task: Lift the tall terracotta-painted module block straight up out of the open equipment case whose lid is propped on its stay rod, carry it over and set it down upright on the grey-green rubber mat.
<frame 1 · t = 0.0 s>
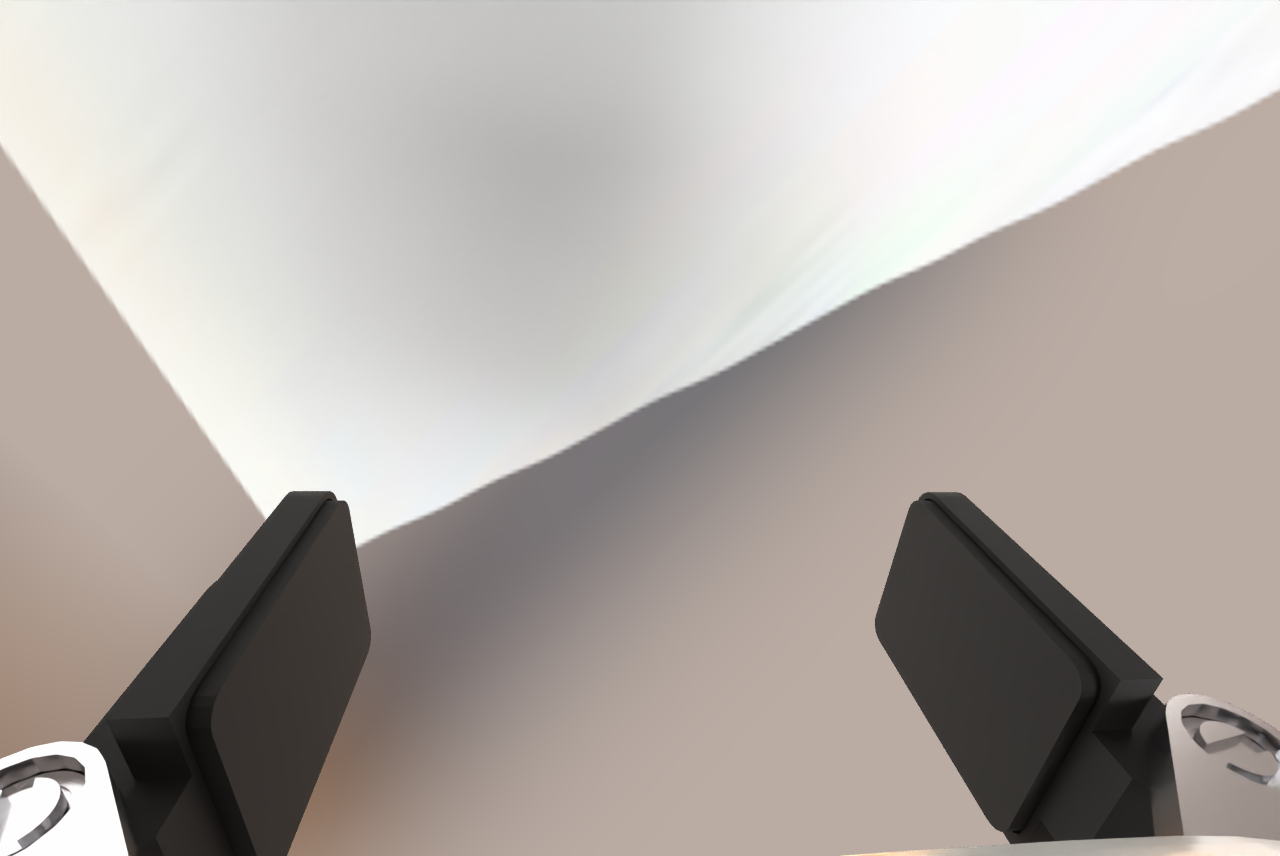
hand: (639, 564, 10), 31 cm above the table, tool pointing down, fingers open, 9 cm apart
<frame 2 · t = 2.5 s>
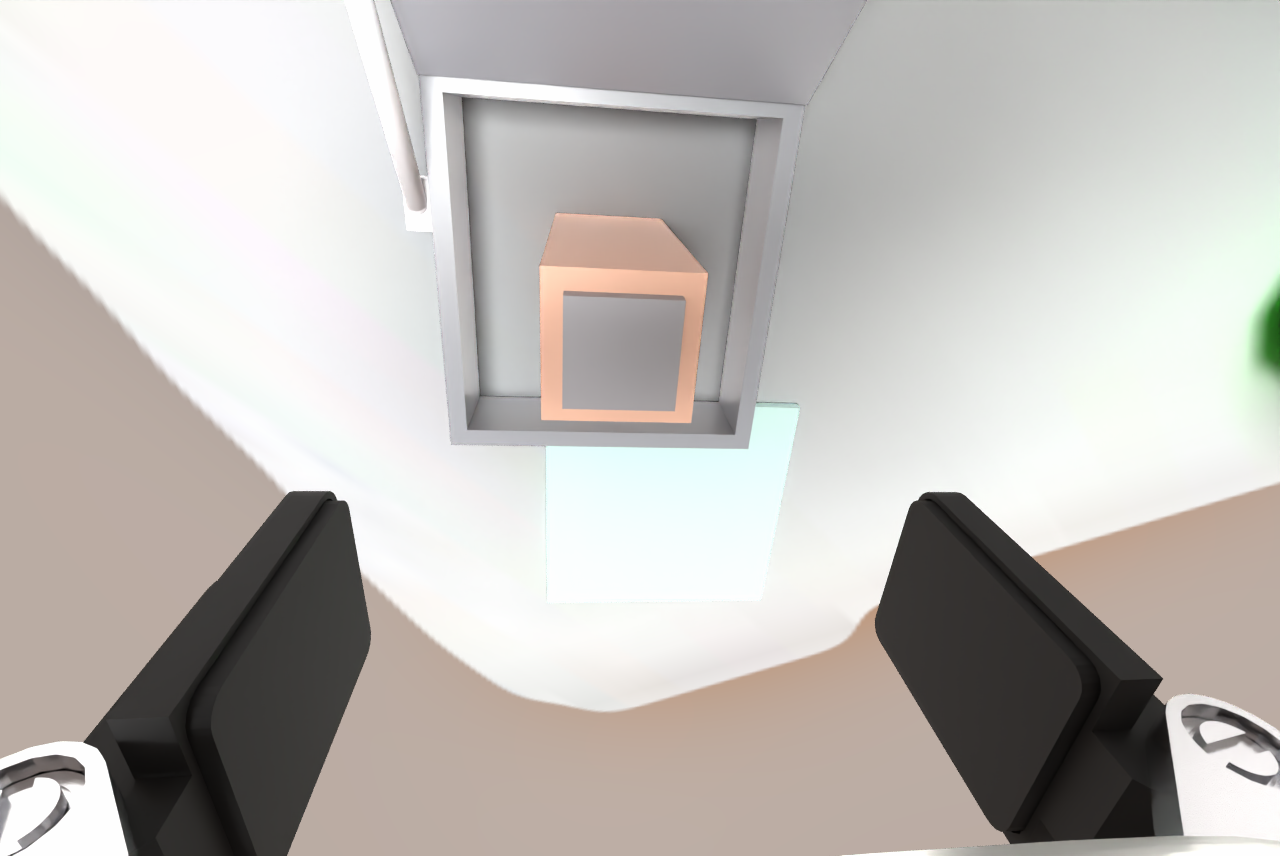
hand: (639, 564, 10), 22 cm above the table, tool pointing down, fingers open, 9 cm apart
mat: (663, 506, 36), on the table
case: (606, 269, 29), on the table
module: (606, 269, 29), resting in case
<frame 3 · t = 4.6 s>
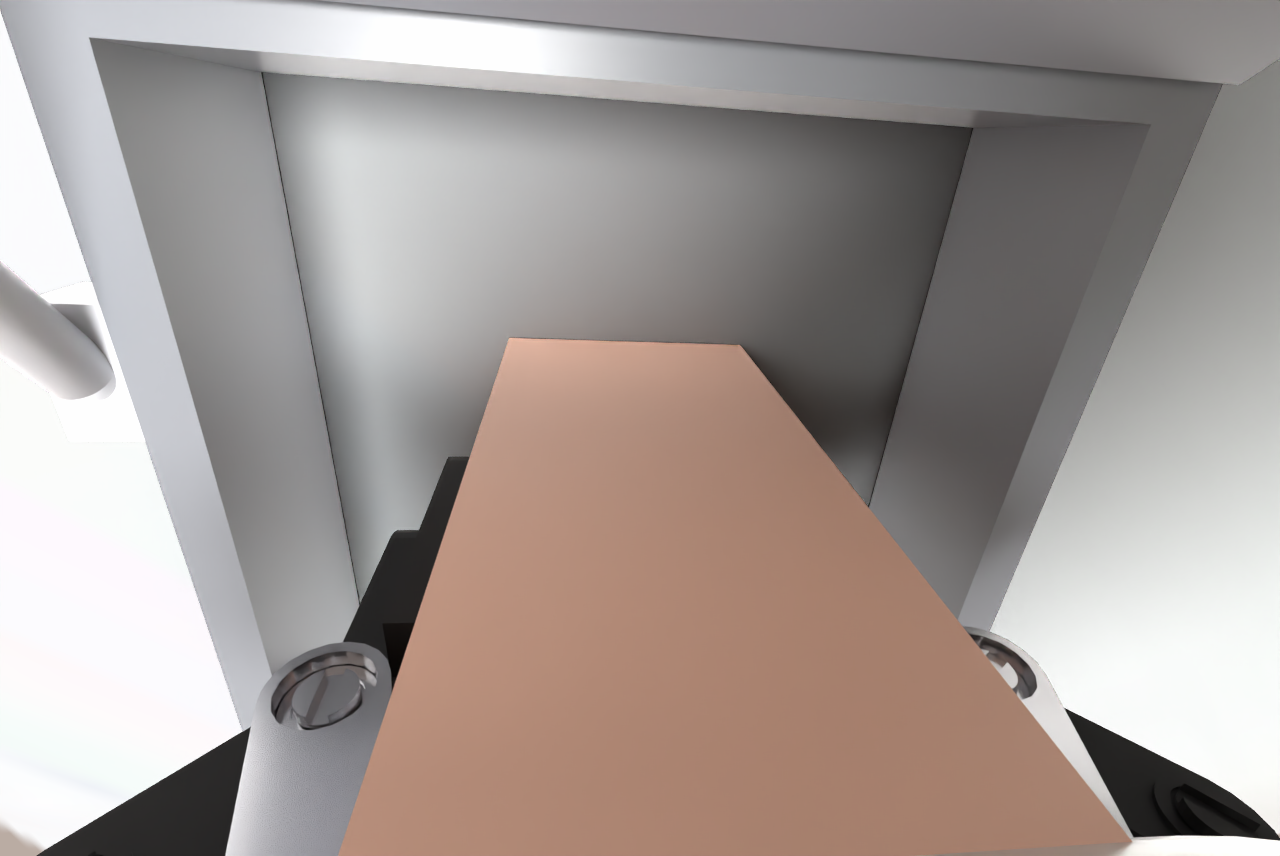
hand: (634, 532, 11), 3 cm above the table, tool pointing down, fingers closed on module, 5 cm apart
case: (622, 442, 14), on the table
module: (621, 444, 14), resting in case, touching gripper
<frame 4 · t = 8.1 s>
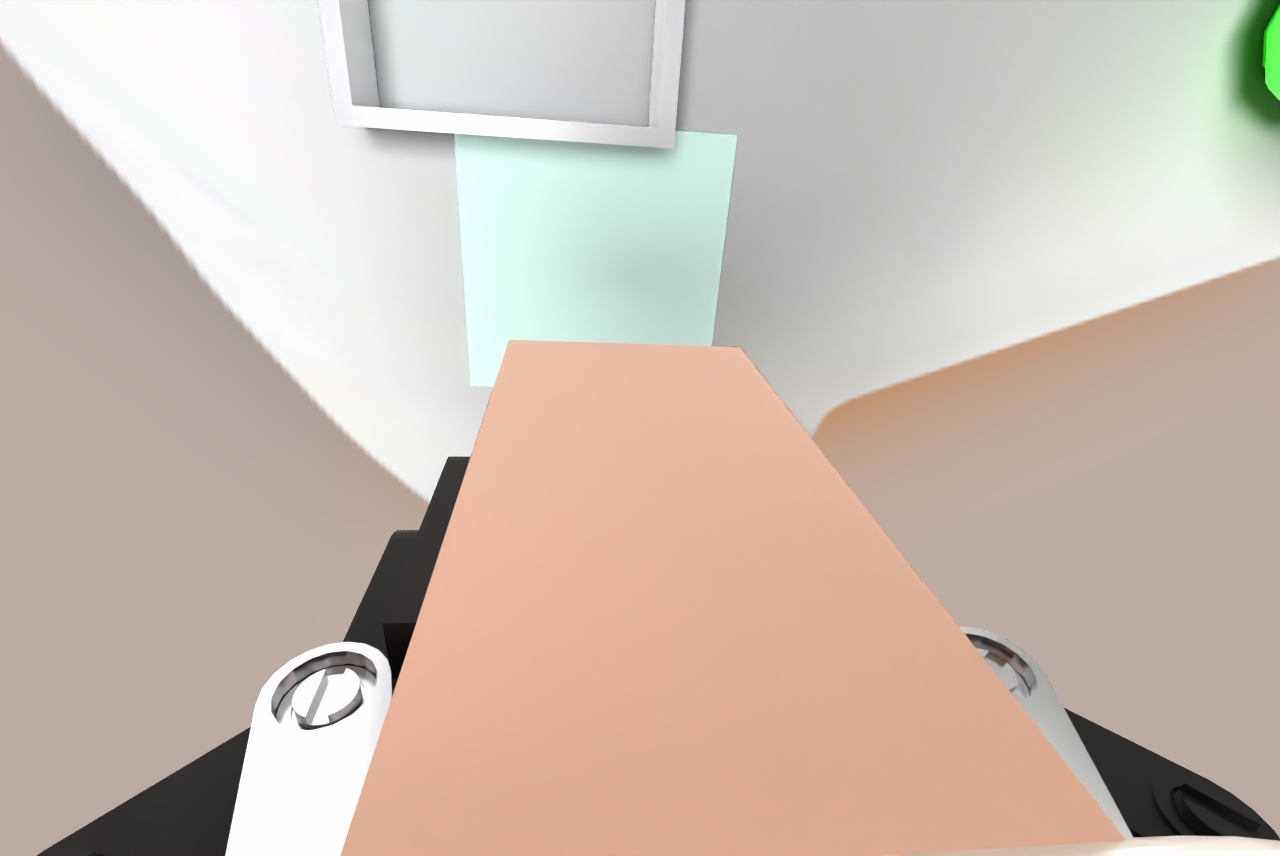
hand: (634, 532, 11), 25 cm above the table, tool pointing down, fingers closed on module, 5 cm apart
mat: (594, 267, 33), on the table
module: (621, 446, 14), point 21 cm above the table, touching gripper
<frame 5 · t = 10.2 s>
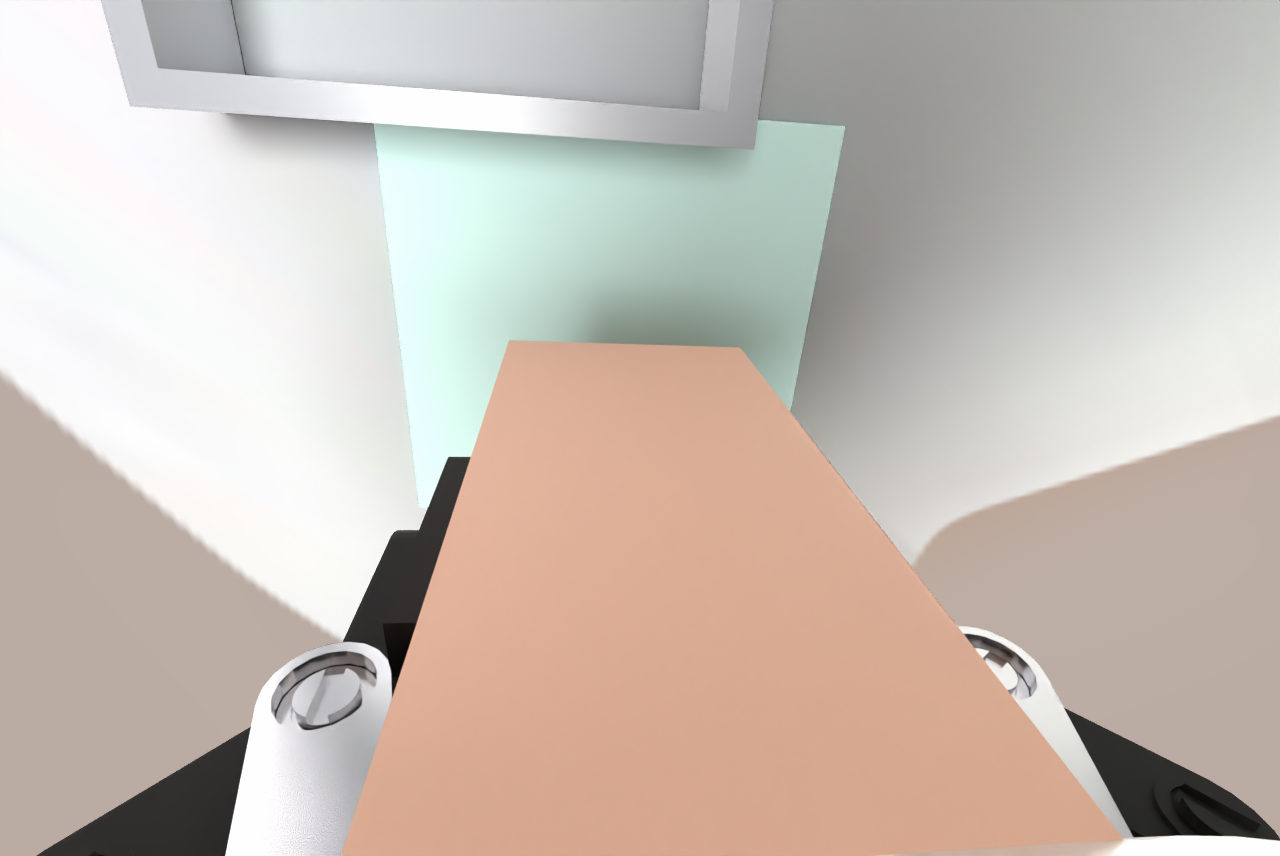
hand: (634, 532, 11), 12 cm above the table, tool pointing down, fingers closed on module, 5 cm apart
mat: (607, 332, 21), on the table
module: (621, 446, 14), point 8 cm above the table, touching gripper
when the fingers open (6 cm above the table, at t = 11.8 s): module drops 2 cm, resting on mat.
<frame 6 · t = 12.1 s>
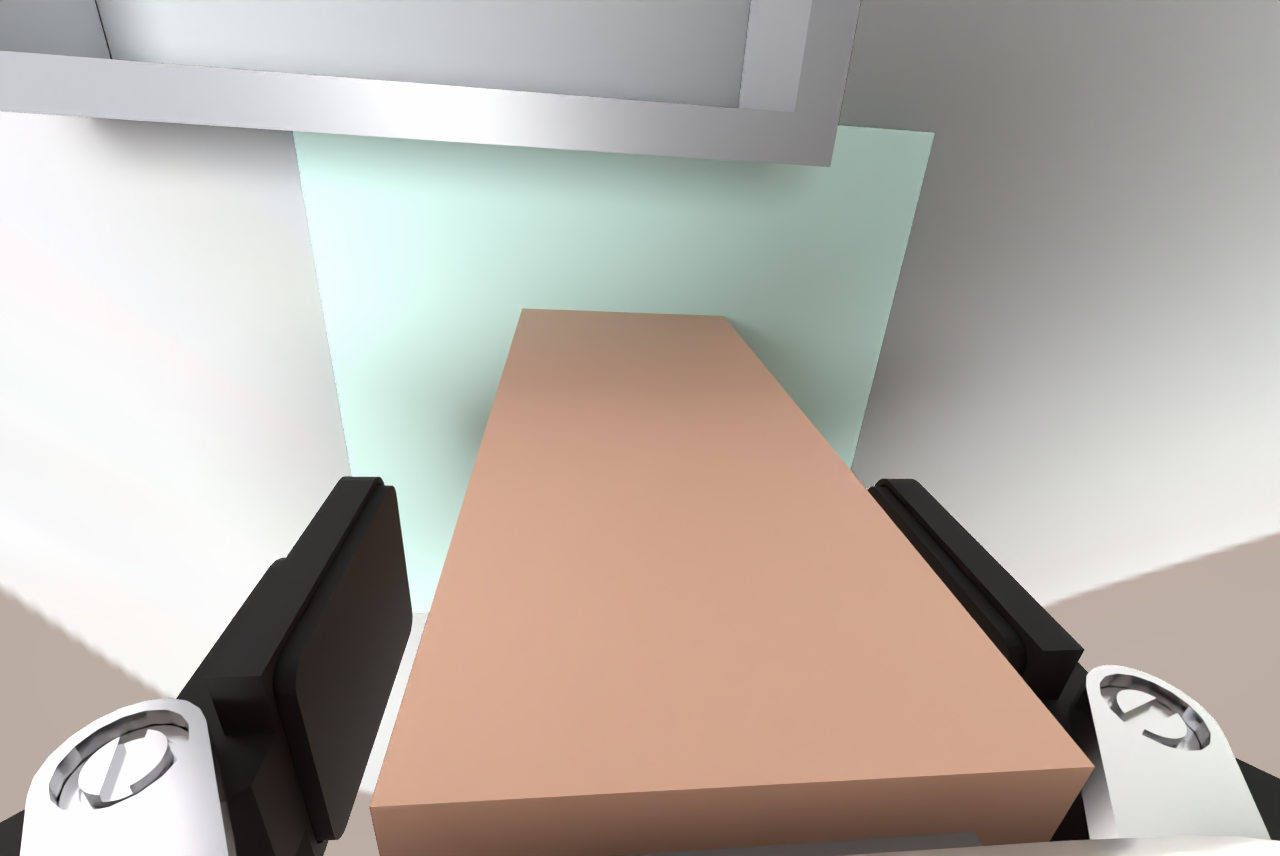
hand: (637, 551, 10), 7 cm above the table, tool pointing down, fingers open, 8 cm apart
mat: (614, 398, 16), on the table
module: (619, 404, 16), point 1 cm above the table, touching mat
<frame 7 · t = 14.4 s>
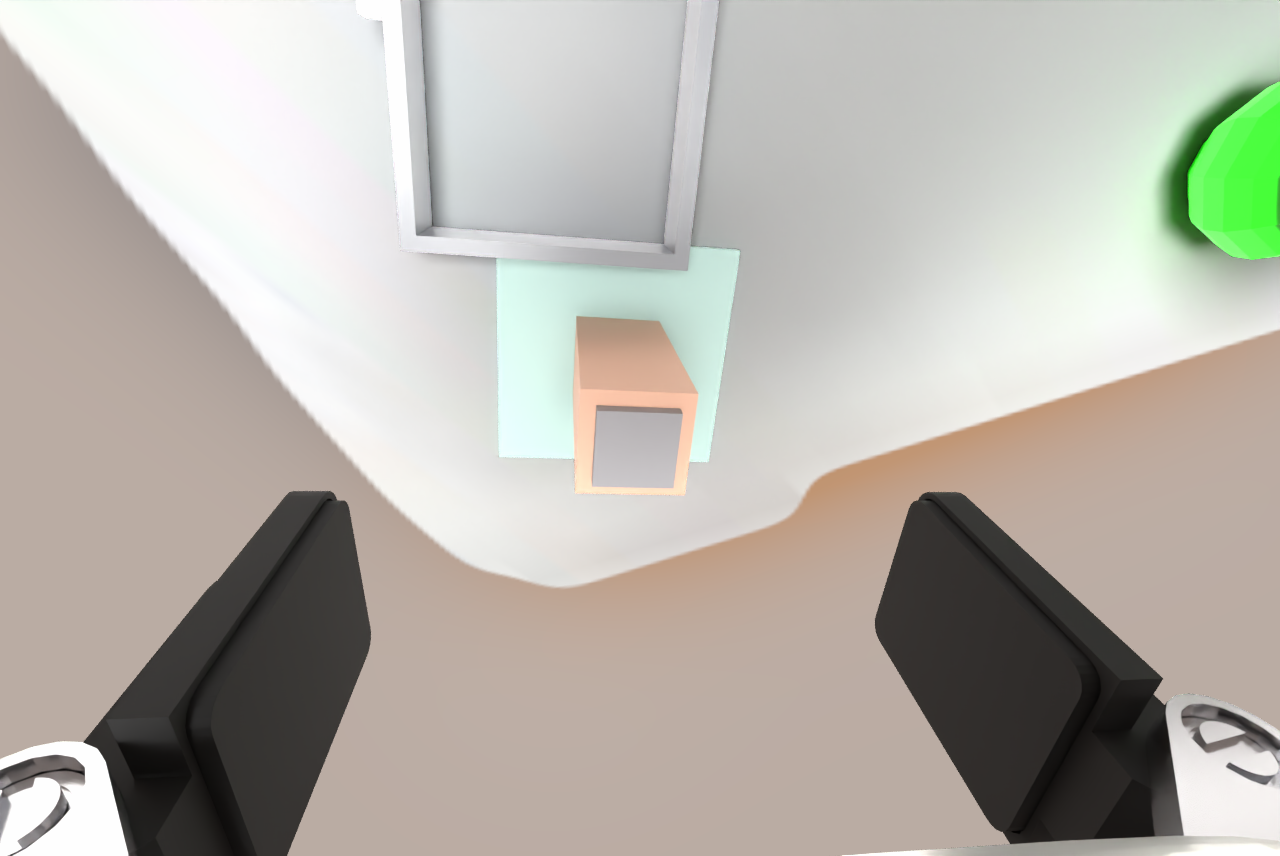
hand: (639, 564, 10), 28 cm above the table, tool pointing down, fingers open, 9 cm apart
mat: (612, 356, 37), on the table
case: (554, 95, 31), on the table
plastic bottle: (1224, 167, 37), on the table
module: (615, 358, 37), point 1 cm above the table, touching mat
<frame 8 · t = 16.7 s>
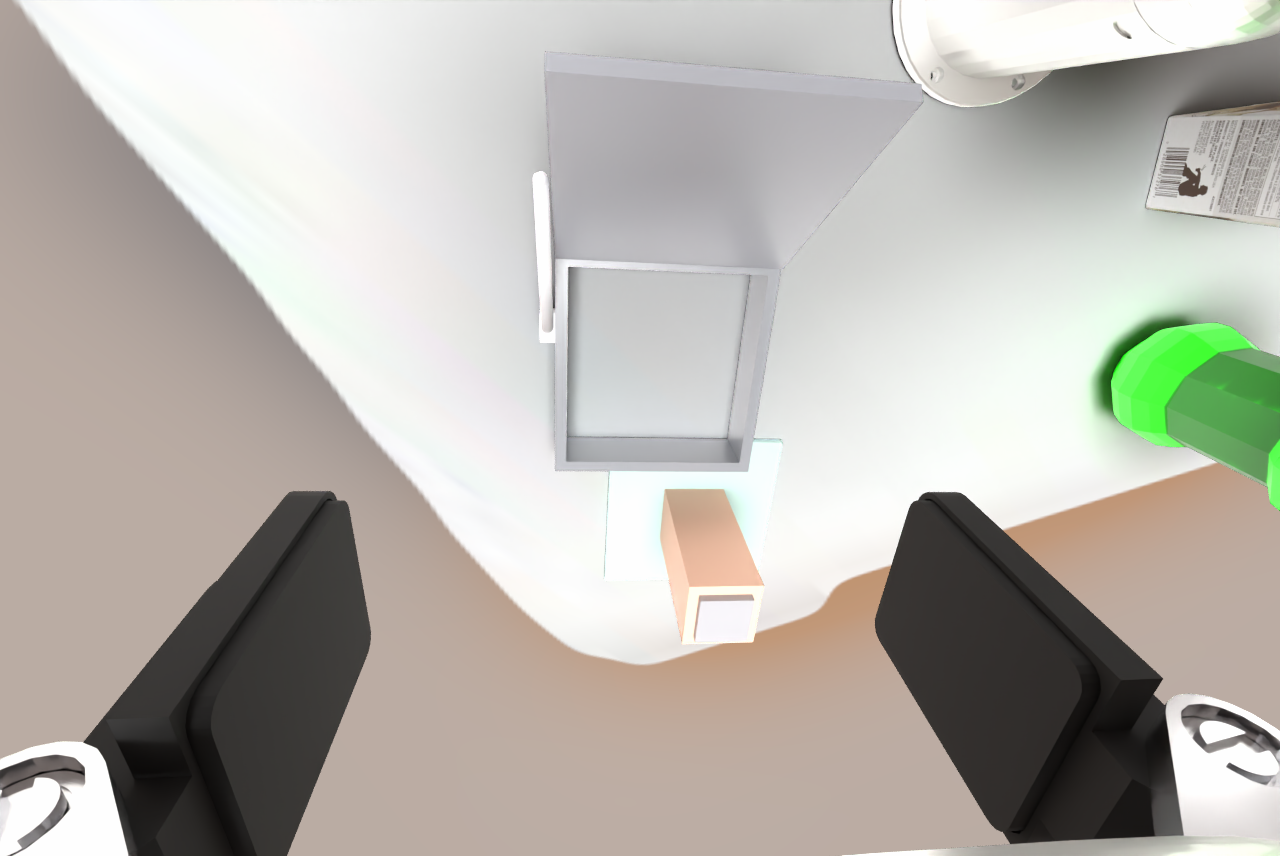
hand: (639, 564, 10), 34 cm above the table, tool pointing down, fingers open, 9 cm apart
mat: (688, 510, 51), on the table
case: (654, 354, 45), on the table
plastic bottle: (1141, 367, 50), on the table
module: (691, 514, 51), point 1 cm above the table, touching mat
coffee box: (1211, 155, 42), on the table
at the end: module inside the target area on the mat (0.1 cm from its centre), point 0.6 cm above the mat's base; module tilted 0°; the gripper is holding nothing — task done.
